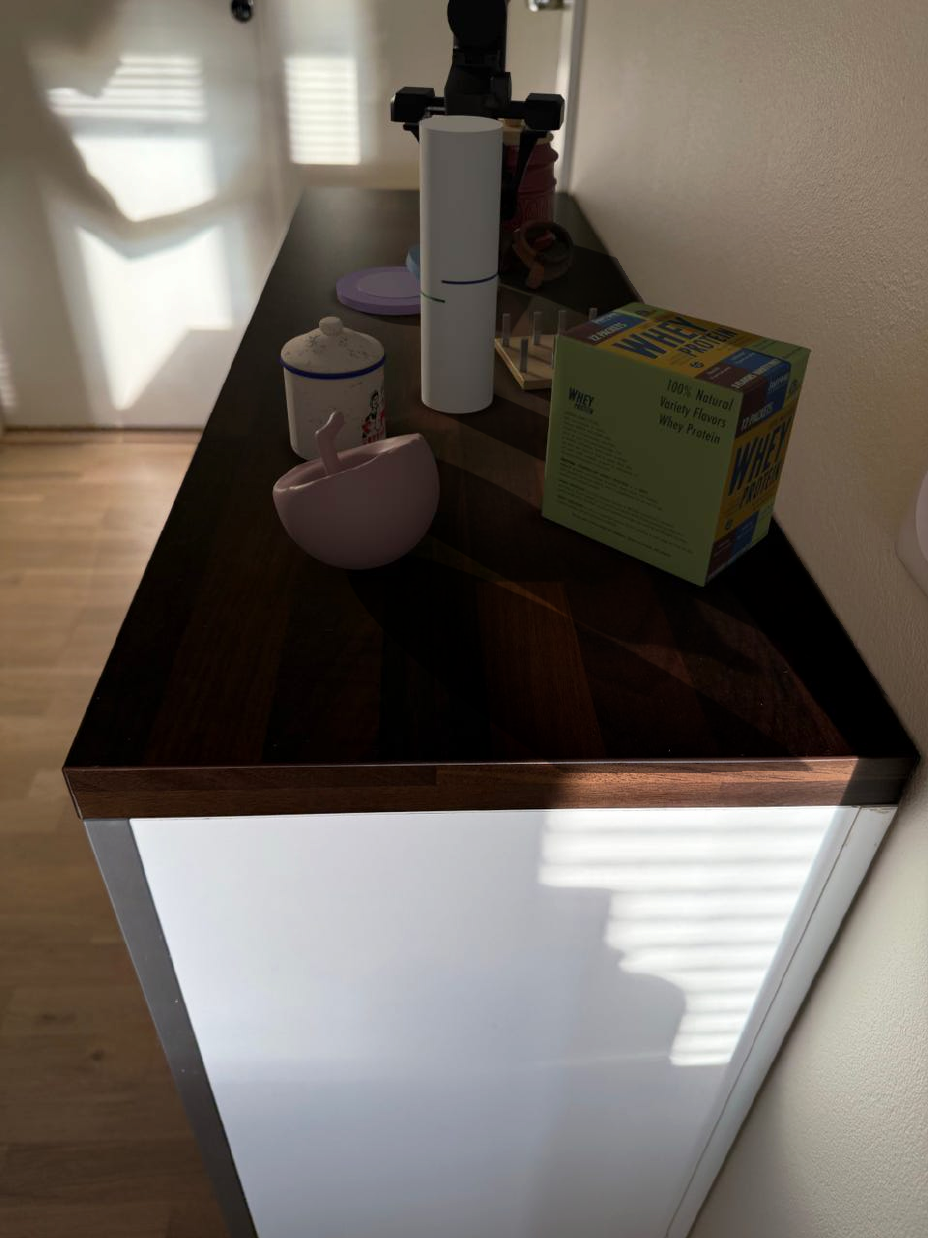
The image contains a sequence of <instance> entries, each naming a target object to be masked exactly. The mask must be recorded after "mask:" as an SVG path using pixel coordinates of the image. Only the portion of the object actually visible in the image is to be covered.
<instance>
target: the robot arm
mask: <svg viewBox="0 0 928 1238" xmlns="http://www.w3.org/2000/svg"><path fill="white" fill-rule="evenodd" d="M511 1H512V0H448V2H447V6H446V17H447V22H448V26H449V29H450V31H451V33H452V55H451V65H450V67H449V70H448V71H449V72H448V74H447V78H446V81H445V84H444V86H443V87H444V88H443V96H436V92H435V87H427V86H425V87H423V86H406V85H405V86H403V87H401V88H400V89H399V90H397V91H396V92H395V93H394V94H393V96H391V98H390V103H389V107H390V108H389V109H390V111H389V112H390V113H389V114H390V122H393V123H402V130H403V131H406V132H411V134H412V135H413V136H414V138H415V139H416V141H417V142H418V145H419V146H420V139H419V122H420V121H422V120H424V119H427V118H432V117H434V116H476V117H484V118H490V119H494V120H497V121H498V120H504V119H518V120H523V121H524V124H526V125H525V126H524V128H523V129H522V131H521V132H520V143H519V151H518V157H517V164H516V170H515V176H513V170H509V171H508V151H507V149H506V147H505V144H504V142H503V143H502V168H501V194H500V220H499V229H501V221H502V220H507V221H511V218H515V217H517V199H518V191H519V188H520V185H521V182H522V179H523V176H524V174H525V171H526V168H527V165H528V162H529V159H530V156H531V154H532V152H533V149H534V147H535V145H536V143H537V141H538V139H539V138H547V137H548V135H549V133H550V132H552V131H553V132H554V131H560V130H561V128H562V126H563V124H564V122H565V111H566V100H565V98H564V97H563V96H562V94H561V93H546V92H545V93H544V92H529V94H528V95H527V97H526V98H525V100H512V98H513V97H512V96H513V81H512V72H511V71H506V68H507V43H508V41H507V40H508V14H509V4H510V3H511ZM503 204H508V207H506V206H503ZM498 251H500V247H498Z"/></svg>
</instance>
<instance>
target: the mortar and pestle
mask: <svg viewBox="0 0 928 1238" xmlns="http://www.w3.org/2000/svg"><path fill="white" fill-rule="evenodd" d="M343 424H344V415H343V413H342V412H340V411H335V412H333V413H332V414H331V416H330V419H329V421H328V422H327V424H326V425H325V426H324V427H322V428H321V429H319V430H318V431H317V432H316V433H315V441H316V444H317V447H318V450H319V453H320V456H321V458H319V459H316V460H312V461H306V462H304V463H301V464H298V465H296V466H294V467H293V468H292V469H290V470H289V471H288V472H287V473H285V474H283V476H281V477H280V478H279V479H278V480H277V481H276V483H275V484H274V485H273V490H272V497H273V502H274V506H275V508H276V511H277V514H278V516H279V519H280V522H281V523H282V525H283V527H284V529H285V530H286V532H287V534H288V535H289V537H290V538H291V539H292V540H293V541H294V542H295V543H296V544H297V546H298V547H300V548H301V549H302V550H303V551H304V552H306V553H307V554H308V555H309V556H311V557H313V558H314V559H316V560H318V561H319V562H322V563H324V564H327V565H329V566H332V567H336V568H340V569H345V570H359V571H362V570H371V569H375V568H380V567H383V566H385V565H389V564H391V563H393V562H394V561H397V560H399V559H401V558H402V557H403V556H405V555H407V554H408V553H409V552H410V551H411V550H413V549H414V548H415V547H416V546H417V545H418V544H419V543H420V541H421V540H422V539H423V538H424V537H425V535H426V534H427V532H428V530H429V529H430V528H431V525H432V523H433V520H434V519H435V518H434V517H435V516H436V513H437V509H438V505H439V499H440V487H441V486H440V475H439V471H438V470H439V469H438V466H437V463H436V459H435V456H434V454H433V451H432V449H431V446H429V444H428V442H427V440H426V439H425V437H424V435H422V434H420V433H419V432H417V433H411V434H404V435H399V436H394V437H388V438H386V439H384V440H380V441H376V442H373V443H370V444H366V445H363V446H360V447H356V448H354V449H349V450H347V451H343V452H341V453H336V449H335V446H334V439H335V437H336V435H337V433H338V431H339V430H340V428H341V427H342V426H343Z"/></svg>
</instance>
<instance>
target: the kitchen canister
mask: <svg viewBox="0 0 928 1238" xmlns="http://www.w3.org/2000/svg"><path fill="white" fill-rule="evenodd" d="M498 121H500V122H502V123H503V142H504V144H505V147H506V149H507V151H508V171H509V170H513V176H515V170H516V164H517V157H518V151H519V143H520V132H521V131H522V129H523V128H524V126H525V125H526V124H524V121H523V120H518V119H499V120H498ZM554 138H555V136H554V133H552V131H550V133H549V135H548V137H547V138H539V139H538V141H537V143H536V145H535V147H534V149H533V152H532V154H531V156H530V159H529V162H528V165H527V168H526V171H525V174H524V176H523V179H522V182H521V185H520V188H519V191H518V199H517V217H515V218H511V221H507V220H502V221H501V230H503V231H505V232H508V233H512V232H514V231H516V230H517V229H519V228H521V226H522V225H523V224H524V223H525V222H527V221H529V220H532V219H544V220H548V221H550V222H554V216H555V215H554V212H555V199H556V186H557V184H558V180H557V178H556V176H555V163H556V162H557V161H558V159H559V158H560V157H559V156H560V154H559V152H558V151H557V150H556V149H554V148H553V147H552V145H551V142H552V141H553V140H554ZM503 206H506V207H508V204H503ZM553 236H554V234H553V233H551V232H550V231H548V230H547V233H546V234H545V235H544V236H541V237H537V239H536V241H535V242H534V244H533V247H532V248H534V249H536V250H537V251H541V250H544V249H546V248H548V247H549V246H550V245H551V244H552V238H553ZM500 251H501V250H500Z"/></svg>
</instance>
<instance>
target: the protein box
mask: <svg viewBox="0 0 928 1238" xmlns="http://www.w3.org/2000/svg"><path fill="white" fill-rule="evenodd" d="M557 334H558V333H557ZM811 353H812V349H810V348H808V347H805V346H801V345H798V344H794V343H790V342H786V341H782V340H778V339H774V338H770V337H766V336H762V335H759V334H756V333H753V332H749V331H745V330H742V329H739V328H735V327H732V326H728V325H724V324H721V323H717V322H715V321H714V322H713V321H709V320H706V319H702V318H698V317H694V316H691V315H686V314H683V313H679V312H675V311H672V310H669V309H665V308H661V307H658V306H654V305H651V304H646V303H643V302H638V301H633V302H630V303H628V304H626V305H624V306H620V307H619V308H616V309H613V310H612V311H609V312H607V313H605V314H602V315H600V316H597V318H595V319H593V320H590V321H589V320H588V321H585V322H583V323H581V324H578V325H576V326H574V327H571V328H568V329H567V330H565V331H564V332H562V333H559V334H558V335H557V336H556V346H555V357H554V368H553V381H552V388H551V392H550V393H551V395H550V407H549V418H548V419H549V421H548V432H547V443H546V455H545V467H544V479H543V490H542V491H543V492H542V500H541V502H542V503H541V511H540V514H541V517H542V518H545V519H546V520H549V521H552V522H554V523H556V524H558V525H560V526H562V527H565V528H567V529H569V530H571V531H573V532H576V533H579V534H581V535H583V536H585V537H587V538H590V539H593V540H595V541H597V542H599V543H601V544H603V545H606V546H608V547H610V548H612V549H614V550H617V551H619V552H622V553H624V554H625V555H628V556H630V557H633V558H635V559H637V560H639V561H642V562H644V563H646V564H648V565H651V566H653V567H656V568H657V569H660V570H662V571H665V573H669V574H671V575H673V576H676V577H677V578H680V579H683V580H685V581H687V582H689V583H691V584H694V585H696V586H698V587H701V588H704V587H706V586H707V585H708V584H709V583H710V582H711V581H712V580H713V579H715V578H716V577H717V576H719V575H720V574H721V573H722V572H723V571H725V570H726V569H727V568H728V567H730V566H731V565H732V564H733V563H734V562H736V561H737V560H738V559H739V558H740V557H742V556H743V555H744V554H745V553H747V552H748V551H749V550H750V549H751V548H753V547H754V546H755V545H757V543H759V542H760V541H761V540H762V539H764V538H765V537H766V536H767V535H768V533H769V529H770V524H771V520H772V516H773V512H774V507H775V503H776V498H777V493H778V489H779V485H780V481H781V476H782V472H783V469H784V464H785V461H786V455H787V451H788V448H789V447H788V446H789V442H790V439H791V435H792V434H791V433H792V430H793V425H794V421H795V417H796V413H797V409H798V404H799V399H800V395H801V393H802V388H803V384H804V379H805V375H806V371H807V367H808V363H809V359H810V355H811Z"/></svg>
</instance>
